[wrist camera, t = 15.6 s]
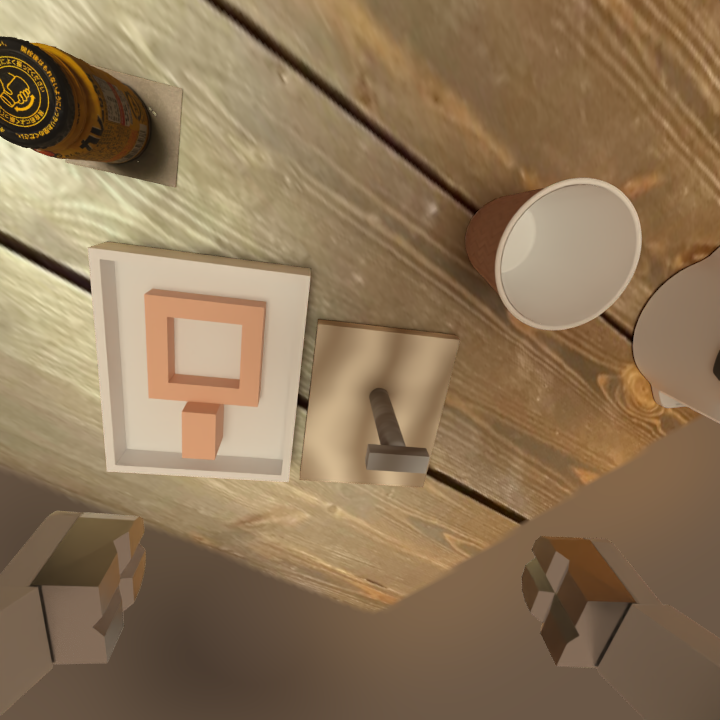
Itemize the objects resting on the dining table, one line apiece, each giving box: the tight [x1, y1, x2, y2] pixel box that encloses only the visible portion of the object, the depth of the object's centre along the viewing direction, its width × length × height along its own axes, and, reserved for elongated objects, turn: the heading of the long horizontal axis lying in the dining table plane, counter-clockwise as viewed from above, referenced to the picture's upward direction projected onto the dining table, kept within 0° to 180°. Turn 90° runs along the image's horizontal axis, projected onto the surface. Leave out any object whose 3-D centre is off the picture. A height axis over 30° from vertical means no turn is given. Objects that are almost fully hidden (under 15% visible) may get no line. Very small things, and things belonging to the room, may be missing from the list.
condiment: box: [0, 37, 182, 187], centre depth 29 cm, size 7×8×12 cm
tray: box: [88, 241, 311, 482], centre depth 41 cm, size 18×22×4 cm
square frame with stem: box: [144, 289, 266, 460], centre depth 40 cm, size 10×15×4 cm, turn 172°
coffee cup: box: [465, 178, 642, 330], centre depth 35 cm, size 10×10×12 cm
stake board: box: [300, 319, 460, 487], centre depth 40 cm, size 14×18×13 cm
